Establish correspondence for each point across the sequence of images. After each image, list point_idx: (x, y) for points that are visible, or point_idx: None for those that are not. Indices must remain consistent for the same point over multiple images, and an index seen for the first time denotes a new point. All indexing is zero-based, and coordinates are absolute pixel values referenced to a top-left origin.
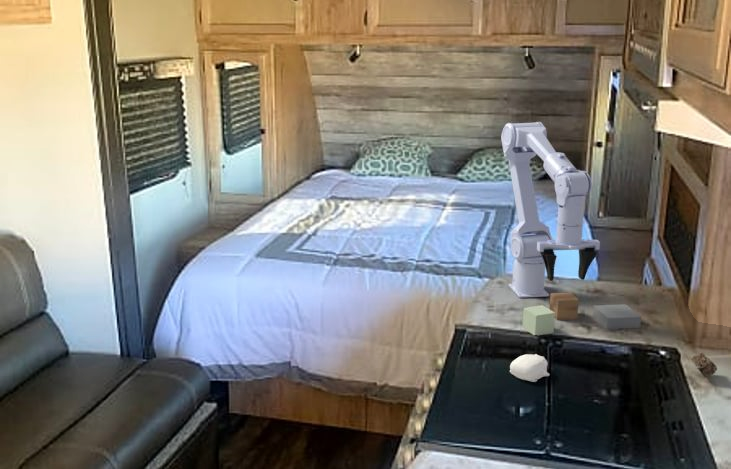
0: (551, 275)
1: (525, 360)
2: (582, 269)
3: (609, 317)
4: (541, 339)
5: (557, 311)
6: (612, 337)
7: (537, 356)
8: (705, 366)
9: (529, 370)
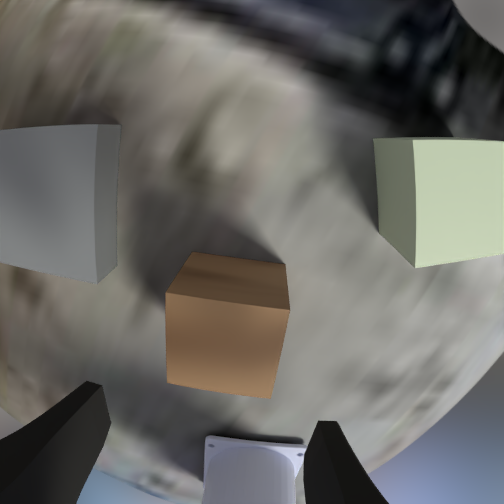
0: (348, 450)
1: None
2: (70, 443)
3: (87, 132)
4: (445, 100)
5: (286, 281)
6: (147, 40)
7: None
8: None
9: None
